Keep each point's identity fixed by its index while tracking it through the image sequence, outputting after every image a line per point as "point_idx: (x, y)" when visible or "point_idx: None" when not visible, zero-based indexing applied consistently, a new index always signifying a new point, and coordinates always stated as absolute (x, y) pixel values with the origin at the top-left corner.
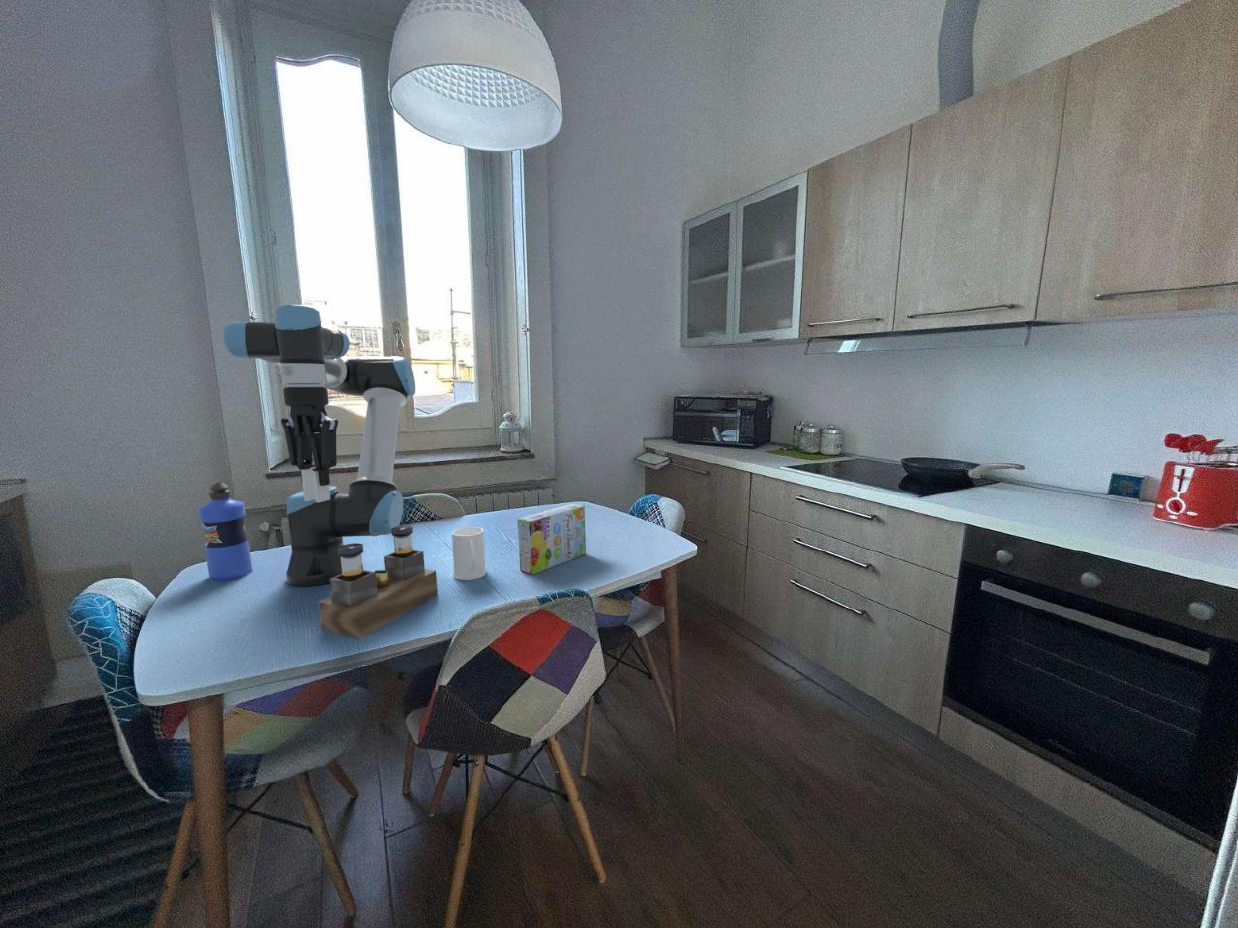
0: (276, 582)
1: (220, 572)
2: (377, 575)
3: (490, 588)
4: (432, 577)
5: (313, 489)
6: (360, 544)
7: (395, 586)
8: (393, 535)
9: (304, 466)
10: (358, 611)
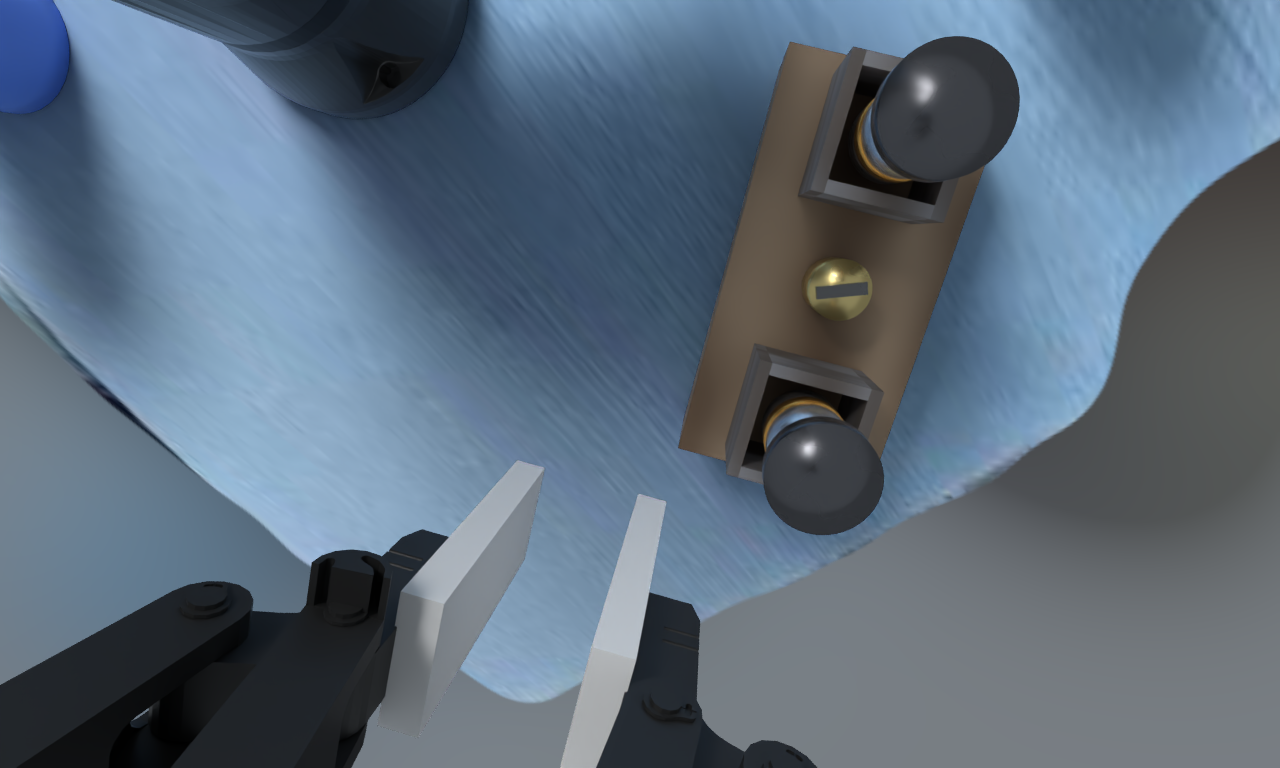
0: (241, 90)
1: (2, 102)
2: (842, 320)
3: (1196, 18)
4: None
5: (514, 541)
6: (853, 438)
7: (896, 292)
8: (904, 175)
9: (370, 716)
10: None
